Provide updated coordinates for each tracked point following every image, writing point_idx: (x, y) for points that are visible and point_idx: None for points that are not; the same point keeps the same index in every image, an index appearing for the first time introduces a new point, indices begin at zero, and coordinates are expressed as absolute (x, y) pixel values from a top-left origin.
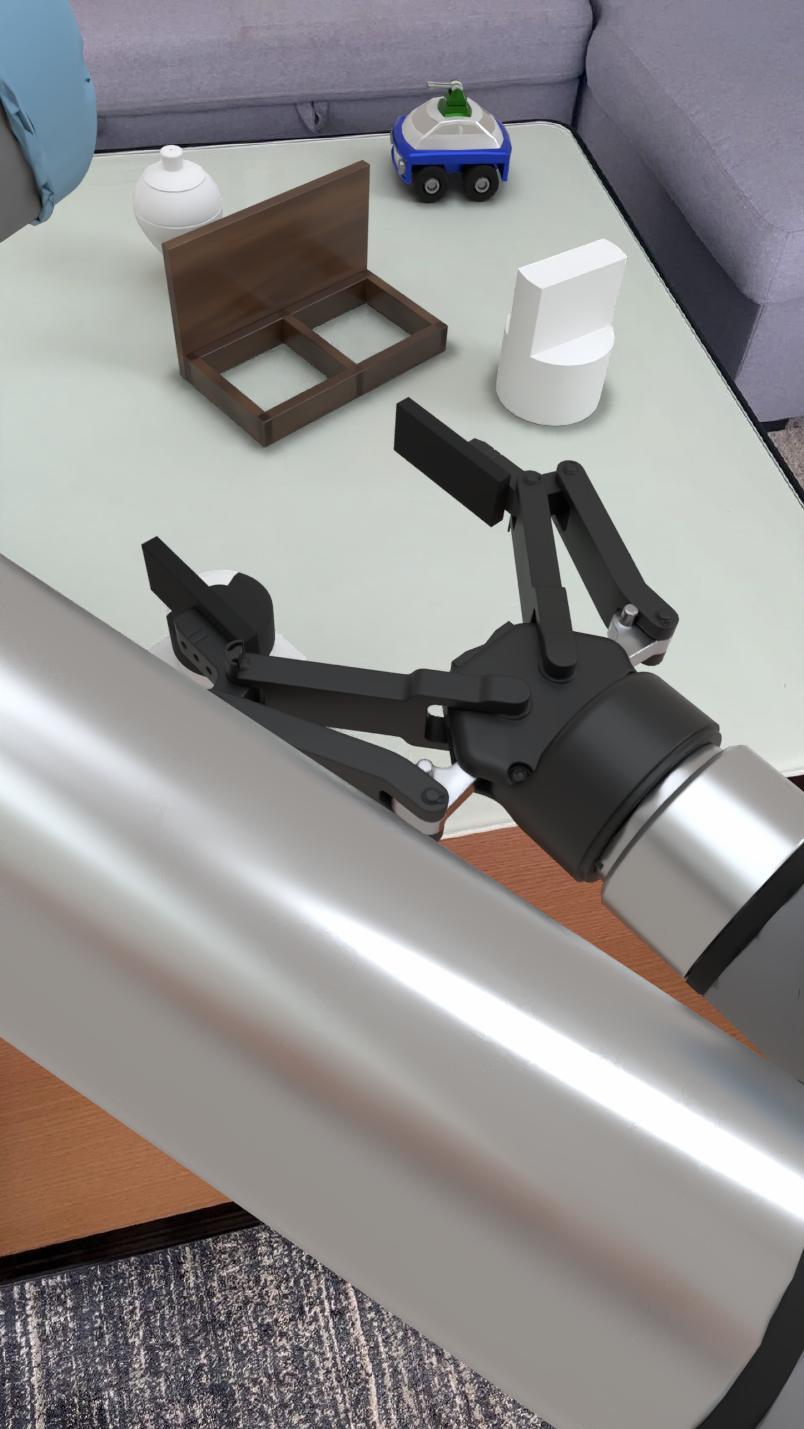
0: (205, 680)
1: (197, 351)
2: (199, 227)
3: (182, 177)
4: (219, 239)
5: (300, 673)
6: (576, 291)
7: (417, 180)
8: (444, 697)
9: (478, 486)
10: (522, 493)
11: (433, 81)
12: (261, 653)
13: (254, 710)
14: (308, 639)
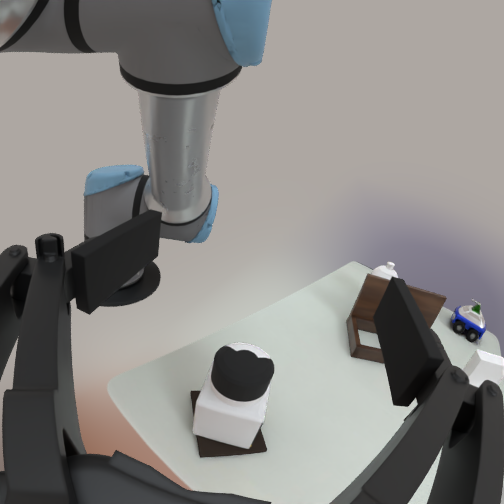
0: (211, 384)
1: (356, 316)
2: None
3: (389, 271)
4: (386, 285)
5: (43, 290)
6: (490, 369)
7: (456, 323)
8: (3, 432)
9: (409, 358)
10: (443, 380)
11: (473, 299)
12: (240, 396)
13: (3, 271)
14: (291, 423)
